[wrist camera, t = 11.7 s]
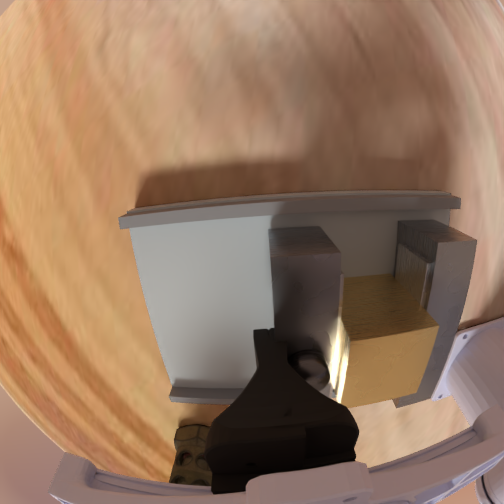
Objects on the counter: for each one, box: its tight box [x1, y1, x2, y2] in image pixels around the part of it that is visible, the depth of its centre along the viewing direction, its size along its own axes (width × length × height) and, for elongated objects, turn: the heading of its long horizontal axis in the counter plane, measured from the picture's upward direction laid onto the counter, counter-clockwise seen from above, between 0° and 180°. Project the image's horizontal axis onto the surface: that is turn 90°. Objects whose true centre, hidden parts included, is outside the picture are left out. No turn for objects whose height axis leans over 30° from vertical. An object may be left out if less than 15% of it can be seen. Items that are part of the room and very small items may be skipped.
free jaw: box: [268, 226, 344, 399], centre depth 13 cm, size 3×10×5 cm, turn 5°
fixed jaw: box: [392, 219, 477, 408], centre depth 13 cm, size 3×10×4 cm, turn 5°
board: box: [118, 190, 461, 404], centre depth 15 cm, size 18×13×2 cm
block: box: [333, 273, 439, 408], centre depth 12 cm, size 4×4×6 cm
